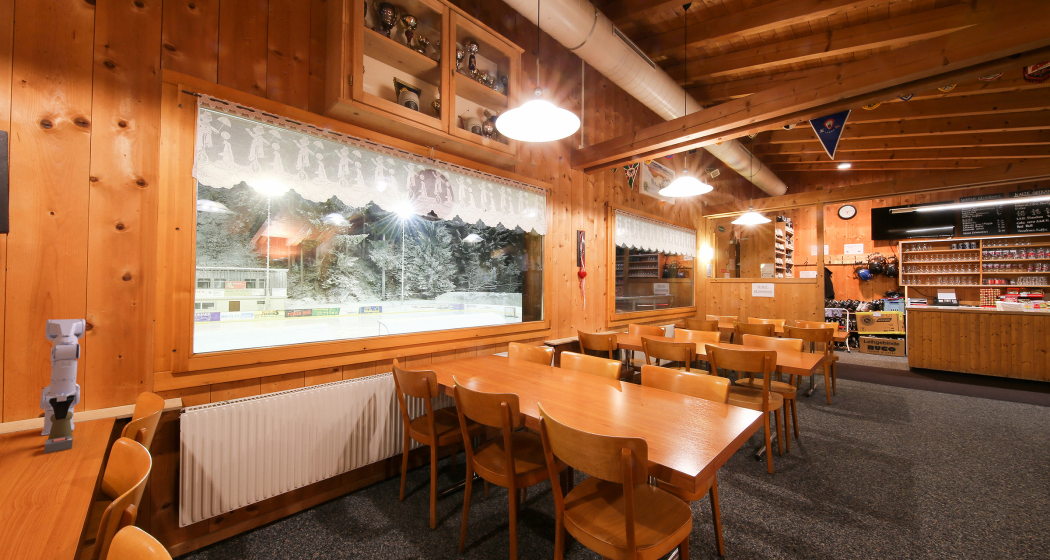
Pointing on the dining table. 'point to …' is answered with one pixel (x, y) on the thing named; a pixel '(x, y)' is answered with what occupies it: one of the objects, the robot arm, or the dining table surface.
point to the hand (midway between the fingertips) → (60, 418)
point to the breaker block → (58, 444)
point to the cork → (61, 427)
